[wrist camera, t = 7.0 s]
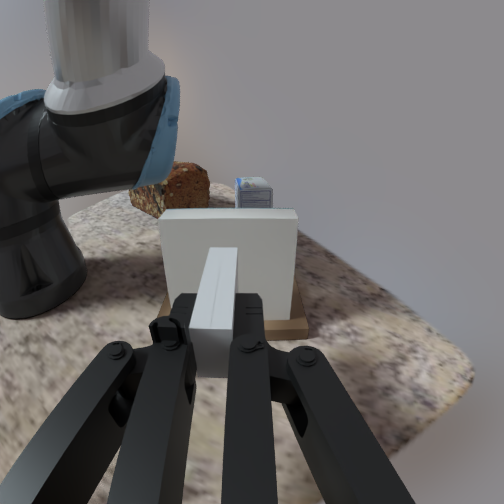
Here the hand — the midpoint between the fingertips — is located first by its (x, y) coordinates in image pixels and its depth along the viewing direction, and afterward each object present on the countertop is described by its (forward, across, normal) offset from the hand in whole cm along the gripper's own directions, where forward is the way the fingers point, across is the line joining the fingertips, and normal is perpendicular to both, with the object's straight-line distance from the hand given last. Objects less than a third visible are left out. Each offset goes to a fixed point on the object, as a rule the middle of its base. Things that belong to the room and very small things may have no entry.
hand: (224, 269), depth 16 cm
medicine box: (+25, +2, -9) cm, 27 cm away
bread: (+42, -16, -9) cm, 45 cm away
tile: (+6, 0, -8) cm, 10 cm away
